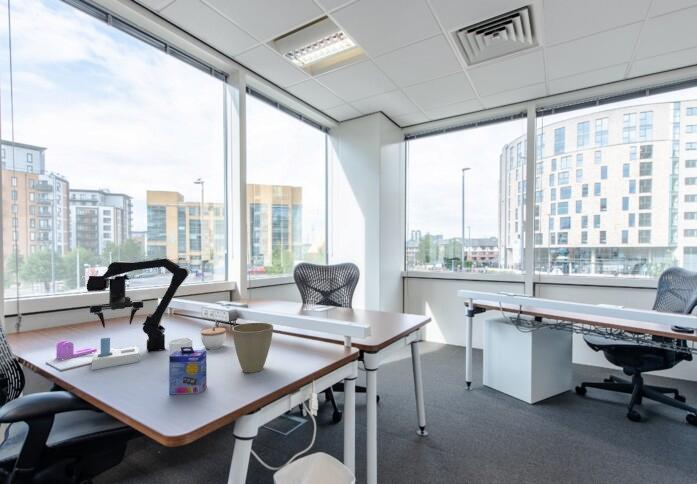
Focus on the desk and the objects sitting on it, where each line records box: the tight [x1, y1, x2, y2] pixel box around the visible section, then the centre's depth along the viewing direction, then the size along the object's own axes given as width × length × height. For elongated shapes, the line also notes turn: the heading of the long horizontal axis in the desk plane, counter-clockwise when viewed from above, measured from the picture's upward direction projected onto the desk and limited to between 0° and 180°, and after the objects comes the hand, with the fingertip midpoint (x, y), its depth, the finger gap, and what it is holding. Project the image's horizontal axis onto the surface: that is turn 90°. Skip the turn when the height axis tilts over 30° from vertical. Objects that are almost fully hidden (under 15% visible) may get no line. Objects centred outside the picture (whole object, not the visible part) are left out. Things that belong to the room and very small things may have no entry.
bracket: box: [56, 340, 98, 360], centre depth 139 cm, size 13×6×7 cm, turn 151°
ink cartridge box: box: [168, 346, 208, 395], centre depth 103 cm, size 10×6×14 cm, turn 95°
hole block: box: [91, 345, 140, 371], centre depth 130 cm, size 15×11×4 cm
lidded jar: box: [200, 326, 227, 350], centre depth 149 cm, size 11×11×9 cm
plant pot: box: [232, 322, 274, 374], centre depth 121 cm, size 15×15×16 cm
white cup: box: [168, 337, 193, 356], centre depth 124 cm, size 8×8×10 cm
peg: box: [100, 336, 111, 357], centre depth 128 cm, size 3×3×10 cm
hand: (117, 326), depth 140 cm, fingers open, 9 cm apart
